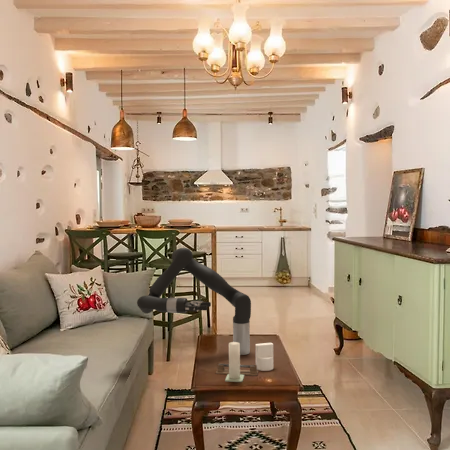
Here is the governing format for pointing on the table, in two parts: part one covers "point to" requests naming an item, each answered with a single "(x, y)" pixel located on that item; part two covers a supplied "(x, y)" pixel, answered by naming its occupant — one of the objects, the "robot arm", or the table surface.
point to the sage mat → (234, 379)
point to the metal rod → (240, 365)
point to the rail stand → (250, 372)
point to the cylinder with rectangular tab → (264, 356)
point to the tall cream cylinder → (234, 360)
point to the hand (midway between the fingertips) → (208, 306)
